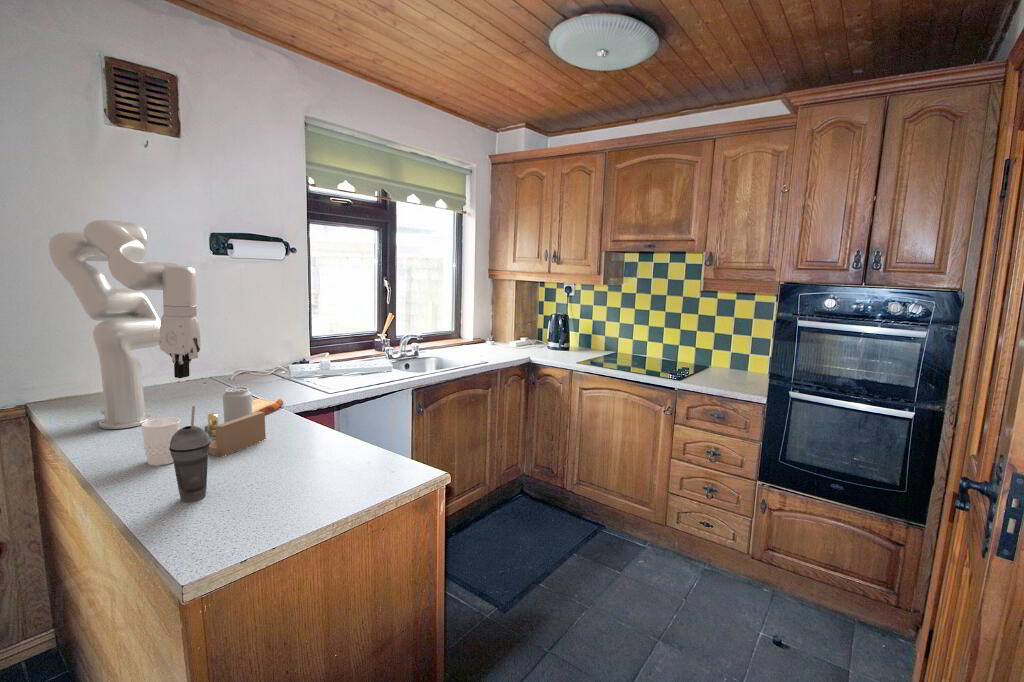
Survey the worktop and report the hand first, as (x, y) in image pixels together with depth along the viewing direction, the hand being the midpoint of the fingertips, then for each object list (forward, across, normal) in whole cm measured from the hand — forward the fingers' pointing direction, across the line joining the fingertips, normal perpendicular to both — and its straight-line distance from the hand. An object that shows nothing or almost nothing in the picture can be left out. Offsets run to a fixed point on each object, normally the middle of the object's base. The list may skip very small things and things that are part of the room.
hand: (182, 376), depth 137 cm
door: (+17, +10, 0) cm, 20 cm away
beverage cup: (+15, +35, -26) cm, 47 cm away
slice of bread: (+18, +1, +26) cm, 32 cm away
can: (+17, +8, +12) cm, 22 cm away
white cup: (+17, +11, -14) cm, 25 cm away
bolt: (+14, +15, 0) cm, 21 cm away
